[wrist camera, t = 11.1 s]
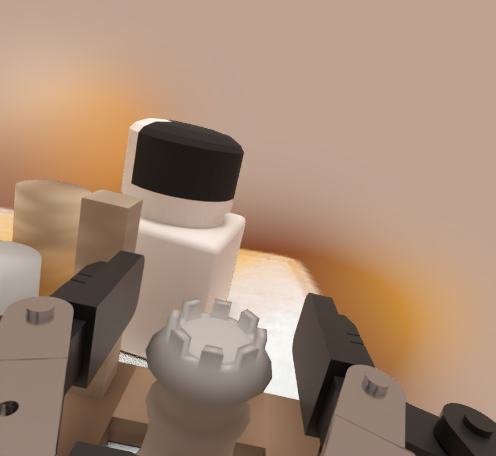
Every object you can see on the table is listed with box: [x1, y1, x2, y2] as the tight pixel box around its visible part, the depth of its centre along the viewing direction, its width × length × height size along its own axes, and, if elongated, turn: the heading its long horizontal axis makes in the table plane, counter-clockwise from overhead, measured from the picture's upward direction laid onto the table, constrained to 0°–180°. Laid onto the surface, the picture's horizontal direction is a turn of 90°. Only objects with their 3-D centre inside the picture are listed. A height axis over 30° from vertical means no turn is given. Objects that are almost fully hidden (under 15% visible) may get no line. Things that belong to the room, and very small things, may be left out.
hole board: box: [58, 189, 320, 456], centre depth 10 cm, size 12×12×9 cm
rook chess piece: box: [136, 298, 272, 456], centre depth 10 cm, size 4×4×8 cm
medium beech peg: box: [13, 180, 91, 297], centre depth 23 cm, size 4×4×6 cm
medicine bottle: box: [120, 118, 245, 359], centre depth 21 cm, size 7×7×12 cm
